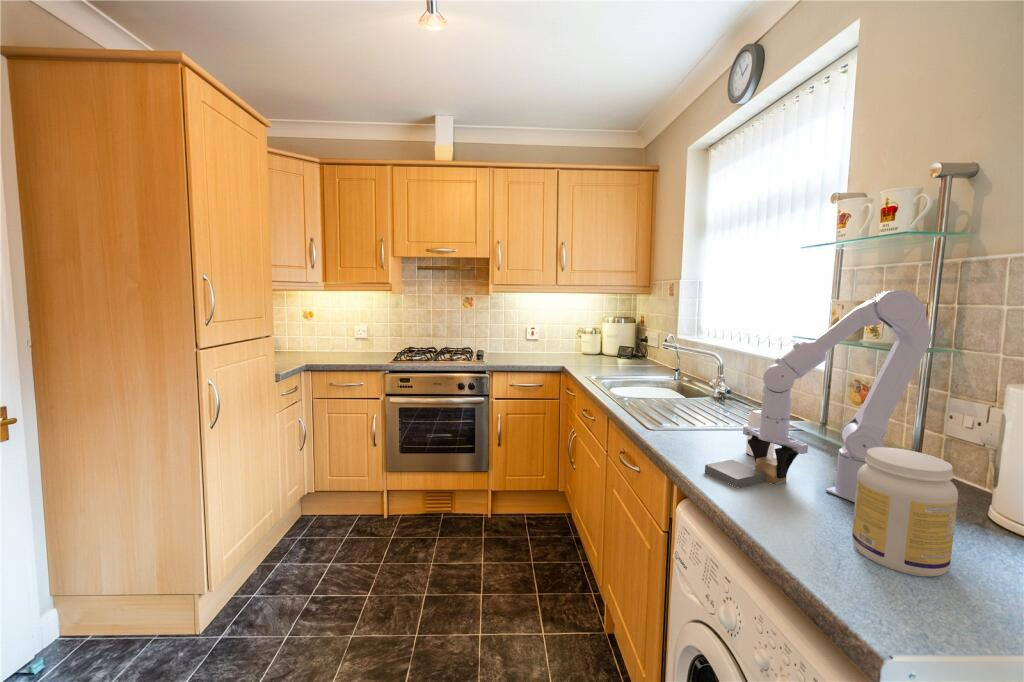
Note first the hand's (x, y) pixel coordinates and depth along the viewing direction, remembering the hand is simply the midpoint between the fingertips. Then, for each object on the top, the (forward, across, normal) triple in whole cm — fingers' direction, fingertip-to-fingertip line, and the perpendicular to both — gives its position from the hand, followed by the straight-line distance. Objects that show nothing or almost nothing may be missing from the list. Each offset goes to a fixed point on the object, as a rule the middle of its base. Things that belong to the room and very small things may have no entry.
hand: (770, 473), depth 102 cm
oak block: (+1, 0, 0) cm, 1 cm away
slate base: (+1, -4, -7) cm, 8 cm away
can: (+2, -12, +12) cm, 17 cm away
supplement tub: (+2, +29, -9) cm, 30 cm away
